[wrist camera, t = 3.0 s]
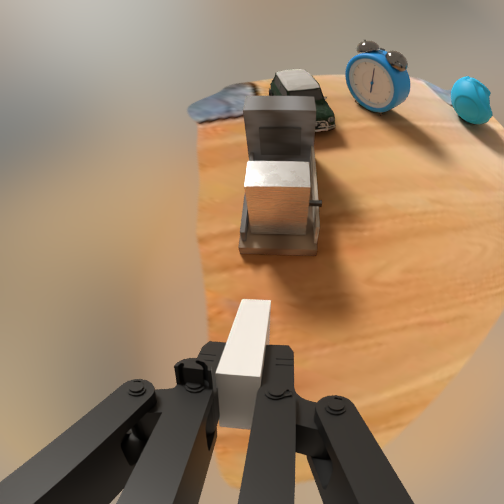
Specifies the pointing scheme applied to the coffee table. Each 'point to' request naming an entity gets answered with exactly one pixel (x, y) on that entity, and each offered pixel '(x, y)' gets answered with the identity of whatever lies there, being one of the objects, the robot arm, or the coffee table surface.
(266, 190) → the carriage
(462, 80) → the blue round piece
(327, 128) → the miniature car
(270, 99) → the frame
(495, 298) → the coffee table surface
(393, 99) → the alarm clock
